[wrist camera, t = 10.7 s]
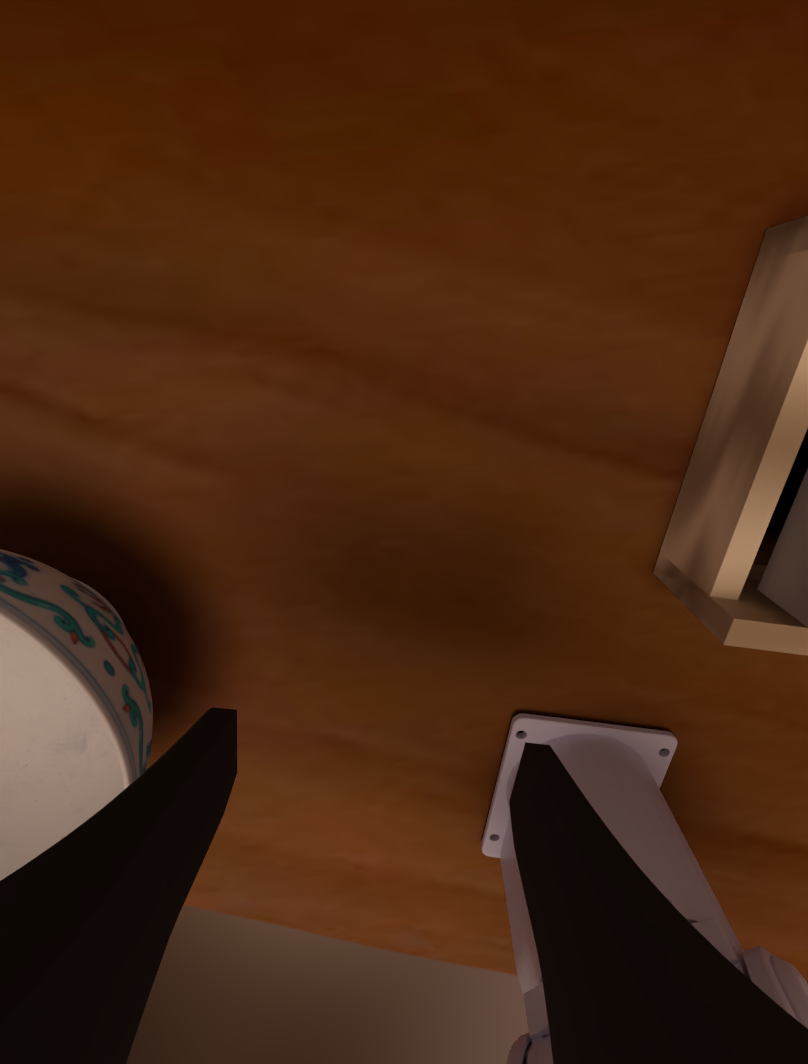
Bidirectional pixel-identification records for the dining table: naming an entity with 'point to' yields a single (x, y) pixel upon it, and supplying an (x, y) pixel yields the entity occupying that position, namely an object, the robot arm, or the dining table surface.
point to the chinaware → (63, 707)
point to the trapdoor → (791, 561)
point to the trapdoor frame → (746, 457)
